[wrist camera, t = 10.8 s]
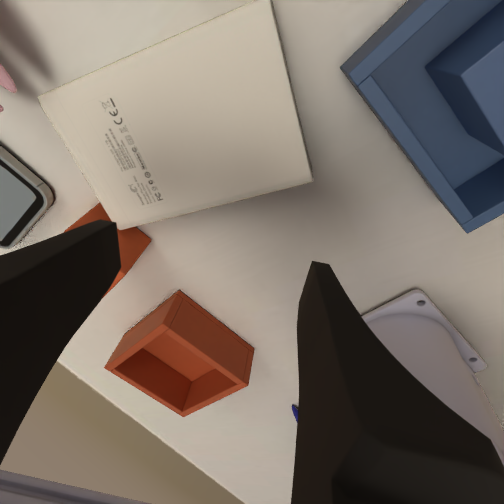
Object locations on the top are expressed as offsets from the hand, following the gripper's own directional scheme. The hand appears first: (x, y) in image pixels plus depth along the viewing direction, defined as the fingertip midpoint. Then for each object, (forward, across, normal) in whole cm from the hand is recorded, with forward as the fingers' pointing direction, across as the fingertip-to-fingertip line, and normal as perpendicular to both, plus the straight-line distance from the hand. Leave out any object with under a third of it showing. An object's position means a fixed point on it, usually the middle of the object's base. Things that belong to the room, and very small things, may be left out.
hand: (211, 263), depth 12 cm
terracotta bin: (+8, +3, +15) cm, 18 cm away
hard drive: (+9, +4, -2) cm, 10 cm away
